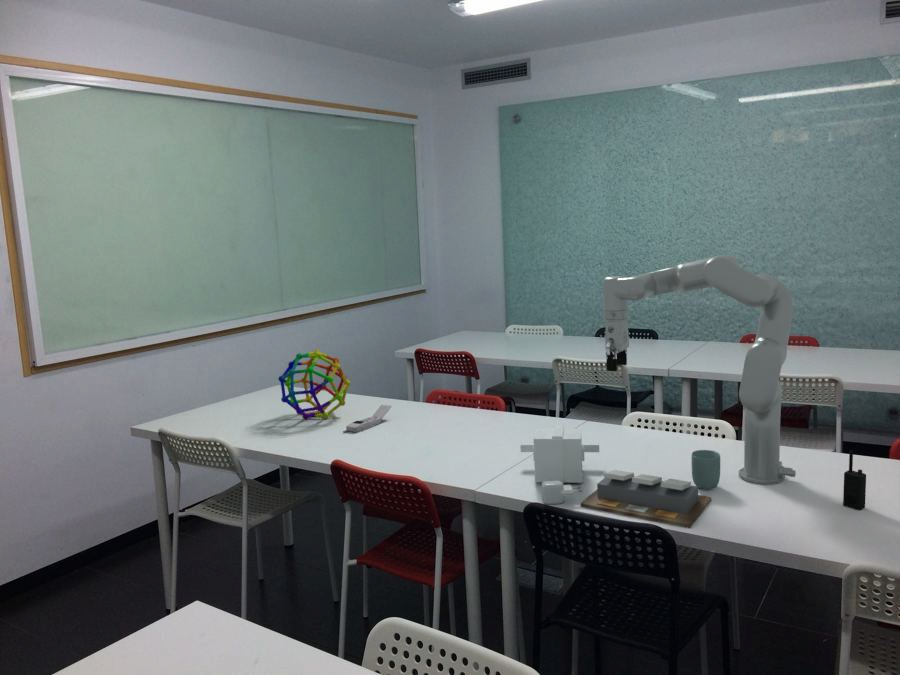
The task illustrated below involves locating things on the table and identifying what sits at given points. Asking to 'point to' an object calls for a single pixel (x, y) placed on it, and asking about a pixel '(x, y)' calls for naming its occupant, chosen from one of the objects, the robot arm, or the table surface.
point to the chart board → (648, 510)
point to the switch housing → (648, 494)
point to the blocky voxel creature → (558, 454)
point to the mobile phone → (368, 420)
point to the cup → (706, 469)
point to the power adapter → (556, 492)
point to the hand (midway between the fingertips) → (617, 367)
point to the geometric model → (313, 391)
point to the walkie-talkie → (854, 487)
